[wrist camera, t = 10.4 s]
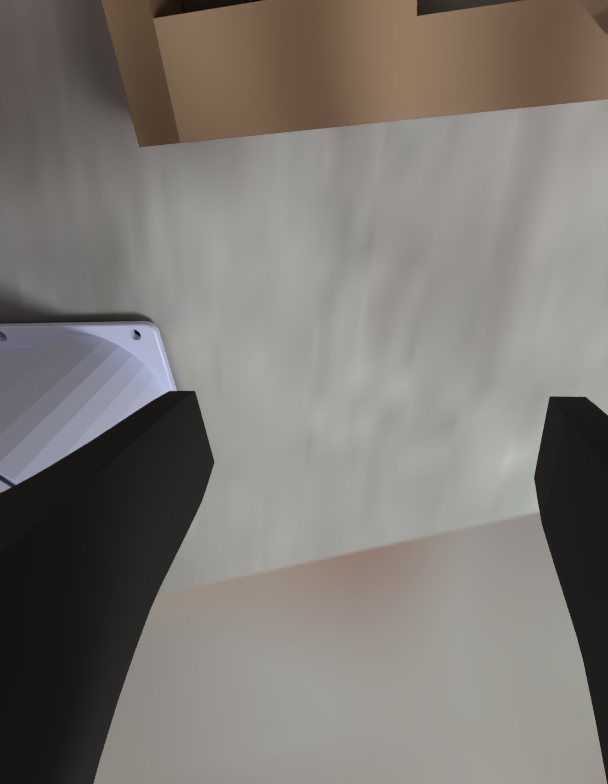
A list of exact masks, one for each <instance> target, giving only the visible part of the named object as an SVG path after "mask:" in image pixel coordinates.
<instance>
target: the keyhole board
mask: <svg viewBox="0 0 608 784" xmlns="http://www.w3.org/2000/svg"><path fill="white" fill-rule="evenodd" d="M101 2H102V6H103V10H104V13H105V17H106V21H107V25H108V29H109V33H110V36H111V40H112V44H113V48H114V52H115V55H116V59H117V63H118V67H119V71H120V75H121V78H122V82H123V86H124V90H125V94H126V98H127V101H128V105H129V109H130V113H131V117H132V121H133V124H134V128H135V132H136V136H137V140H138V144H139V147H145V146H155V145H164V144H174V143H184V142H194V141H203V140H213V139H223V138H233V137H243V136H252V135H262V134H272V133H282V132H291V131H301V130H311V129H321V128H330V127H340V126H350V125H360V124H369V123H379V122H389V121H399V120H408V119H418V118H428V117H438V116H448V115H457V114H467V113H477V112H487V111H496V110H506V109H516V108H526V107H535V106H545V105H555V104H565V103H574V102H584V101H594V100H604V99H608V0H523V1H516V2H509V3H503V4H496V5H489V6H482V7H475V8H468V9H461V10H455V11H448V12H441V13H434V14H427V15H420V16H417V0H263V1H257V2H251V3H245V4H239V5H233V6H227V7H221V8H214V9H208V10H202V11H196V12H190V13H184V9H183V4H182V0H101Z"/></svg>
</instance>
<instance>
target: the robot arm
mask: <svg viewBox="0 0 608 784" xmlns="http://www.w3.org/2000/svg"><path fill="white" fill-rule="evenodd" d="M134 330H137V331H138V332H139V333H140V334H141V336H138V335H137V334H135V332H134ZM3 333H4V334H5V335H6V336H5V335H4V334H3ZM213 465H214V459H213V455H212V452H211V448H210V444H209V441H208V437H207V433H206V430H205V426H204V422H203V419H202V415H201V411H200V408H199V404H198V400H197V397H196V393H195V391H177V389H176V386H175V383H174V379H173V376H172V373H171V369H170V366H169V362H168V359H167V356H166V352H165V349H164V345H163V342H162V339H161V335H160V332H159V330H158V328H157V326H156V325H155V324H153V323H151V322H148V321H122V322H67V323H13V324H0V784H93V783H94V779H95V775H96V772H97V768H98V764H99V761H100V757H101V754H102V751H103V748H104V744H105V741H106V738H107V735H108V731H109V728H110V725H111V721H112V718H113V715H114V712H115V708H116V705H117V702H118V699H119V696H120V693H121V690H122V687H123V684H124V681H125V678H126V675H127V672H128V669H129V666H130V664H131V661H132V658H133V655H134V652H135V649H136V647H137V644H138V641H139V638H140V636H141V633H142V630H143V627H144V625H145V622H146V619H147V617H148V614H149V611H150V609H151V607H152V604H153V602H154V600H155V597H156V595H157V593H158V591H159V588H160V586H161V584H162V582H163V580H164V578H165V576H166V574H167V572H168V570H169V568H170V566H171V564H172V562H173V560H174V558H175V556H176V554H177V552H178V550H179V548H180V546H181V544H182V542H183V540H184V538H185V536H186V533H187V531H188V529H189V527H190V525H191V523H192V521H193V519H194V517H195V515H196V513H197V511H198V508H199V506H200V504H201V502H202V499H203V496H204V493H205V490H206V487H207V484H208V481H209V478H210V475H211V471H212V468H213ZM534 479H535V486H536V492H537V499H538V505H539V510H540V516H541V521H542V526H543V529H544V533H545V536H546V539H547V542H548V545H549V549H550V552H551V555H552V559H553V562H554V565H555V568H556V571H557V575H558V578H559V581H560V584H561V587H562V591H563V594H564V597H565V600H566V603H567V607H568V610H569V613H570V616H571V619H572V622H573V626H574V629H575V632H576V635H577V639H578V643H579V646H580V650H581V654H582V658H583V662H584V666H585V671H586V676H587V681H588V686H589V691H590V696H591V701H592V705H593V710H594V715H595V720H596V725H597V731H598V736H599V742H600V747H601V752H602V757H603V763H604V768H605V774H606V779H607V784H608V415H607V414H605V413H604V412H603V411H602V410H601V409H600V408H598V407H597V406H596V405H595V404H594V403H592V402H591V401H590V400H589V399H587V398H586V397H550V398H549V403H548V408H547V413H546V419H545V424H544V429H543V434H542V439H541V445H540V450H539V455H538V460H537V465H536V471H535V476H534Z"/></svg>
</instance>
